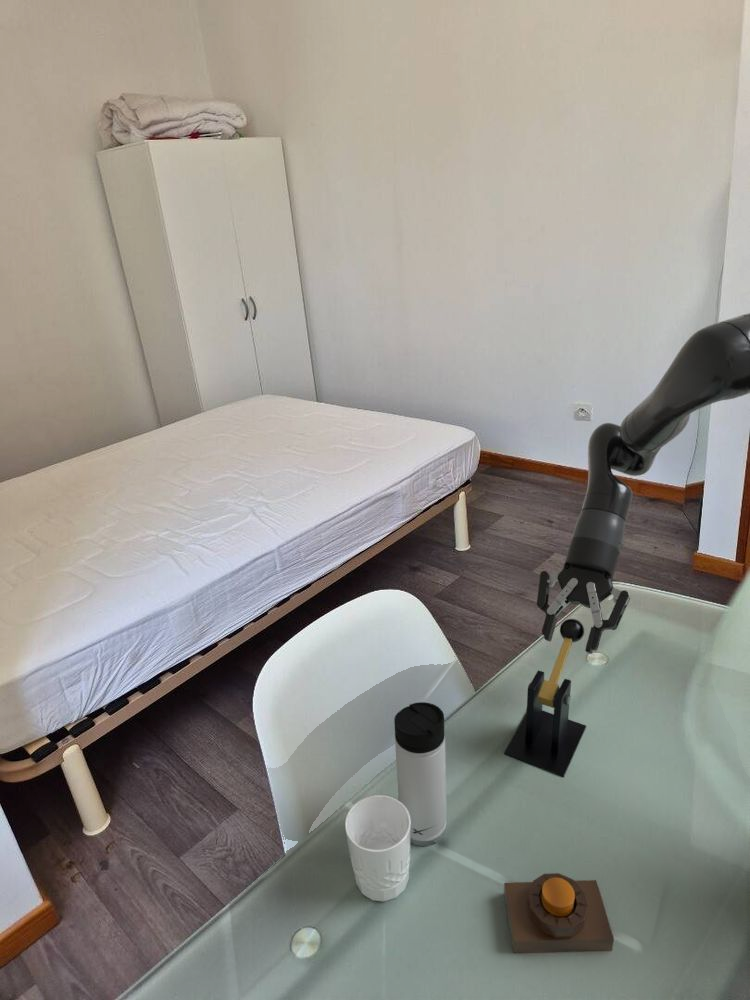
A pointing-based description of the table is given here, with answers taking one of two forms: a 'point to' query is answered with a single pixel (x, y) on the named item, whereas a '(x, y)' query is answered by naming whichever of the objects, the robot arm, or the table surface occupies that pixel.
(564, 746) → the switch bracket
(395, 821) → the white cup
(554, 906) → the button
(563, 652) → the switch lever
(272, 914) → the table surface
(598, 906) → the switch plate
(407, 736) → the travel mug
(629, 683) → the table surface
